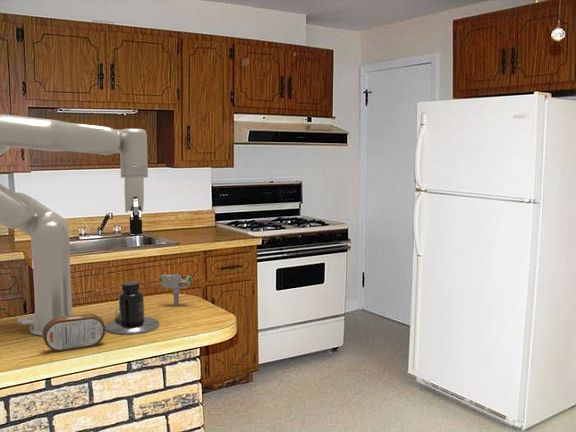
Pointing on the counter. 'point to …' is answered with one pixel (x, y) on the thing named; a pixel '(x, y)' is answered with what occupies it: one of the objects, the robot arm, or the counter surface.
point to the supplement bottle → (131, 305)
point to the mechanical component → (175, 284)
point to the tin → (73, 332)
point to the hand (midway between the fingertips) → (135, 231)
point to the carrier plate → (118, 329)
